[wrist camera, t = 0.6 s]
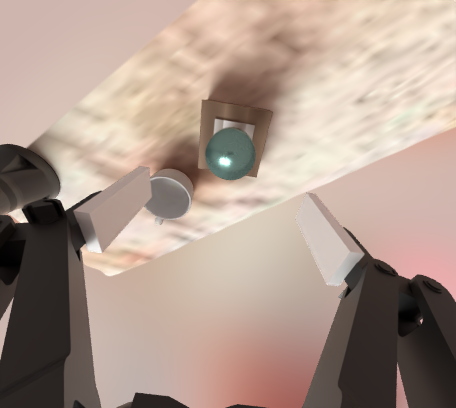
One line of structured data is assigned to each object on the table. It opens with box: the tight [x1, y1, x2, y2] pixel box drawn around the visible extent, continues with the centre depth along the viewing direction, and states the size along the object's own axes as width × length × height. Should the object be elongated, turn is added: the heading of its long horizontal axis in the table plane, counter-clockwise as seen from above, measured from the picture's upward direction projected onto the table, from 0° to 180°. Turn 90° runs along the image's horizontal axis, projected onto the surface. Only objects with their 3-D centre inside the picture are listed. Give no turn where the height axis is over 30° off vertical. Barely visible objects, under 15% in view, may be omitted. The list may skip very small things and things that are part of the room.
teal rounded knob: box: [205, 127, 256, 180], centre depth 31 cm, size 7×7×15 cm
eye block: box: [198, 100, 273, 177], centre depth 35 cm, size 12×12×6 cm
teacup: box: [144, 169, 193, 225], centre depth 41 cm, size 14×11×8 cm
